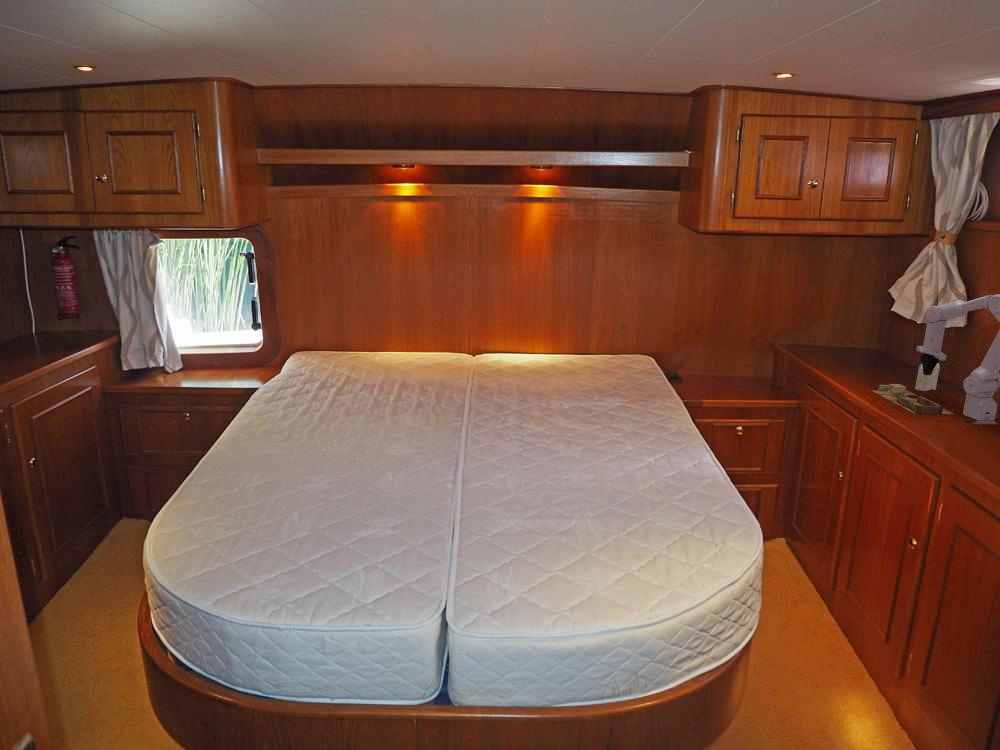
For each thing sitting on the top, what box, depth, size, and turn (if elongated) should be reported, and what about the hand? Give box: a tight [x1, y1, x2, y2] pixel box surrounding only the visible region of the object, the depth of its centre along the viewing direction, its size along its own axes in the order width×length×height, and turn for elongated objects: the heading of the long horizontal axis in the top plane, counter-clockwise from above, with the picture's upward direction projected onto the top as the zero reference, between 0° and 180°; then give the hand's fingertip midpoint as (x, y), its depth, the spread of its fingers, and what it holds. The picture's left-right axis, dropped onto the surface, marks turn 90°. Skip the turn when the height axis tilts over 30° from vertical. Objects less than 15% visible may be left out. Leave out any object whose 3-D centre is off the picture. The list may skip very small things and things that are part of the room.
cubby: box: [897, 395, 944, 415], centre depth 252 cm, size 13×8×2 cm, turn 2°
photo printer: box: [914, 362, 940, 392], centre depth 275 cm, size 10×4×12 cm, turn 125°
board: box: [870, 384, 954, 415], centre depth 259 cm, size 28×14×4 cm, turn 2°
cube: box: [888, 383, 907, 397], centre depth 265 cm, size 4×4×4 cm
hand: (927, 374), depth 261 cm, fingers closed
